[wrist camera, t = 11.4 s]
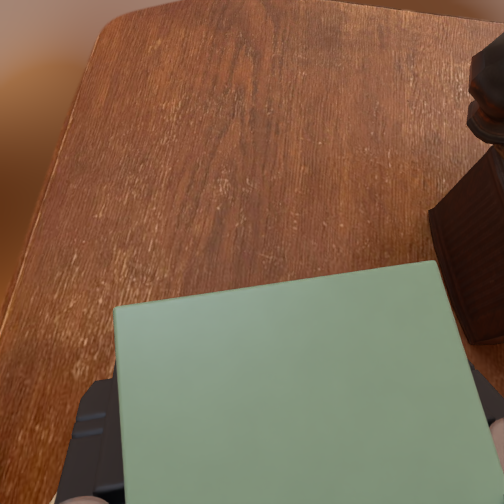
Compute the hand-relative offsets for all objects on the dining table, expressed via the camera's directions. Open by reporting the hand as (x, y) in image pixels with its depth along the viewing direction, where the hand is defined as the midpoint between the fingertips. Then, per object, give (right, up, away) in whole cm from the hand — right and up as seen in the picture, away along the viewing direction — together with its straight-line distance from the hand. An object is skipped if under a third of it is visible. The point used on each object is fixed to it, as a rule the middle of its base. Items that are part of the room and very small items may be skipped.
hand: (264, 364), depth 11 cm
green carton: (0, -4, +5) cm, 6 cm away
